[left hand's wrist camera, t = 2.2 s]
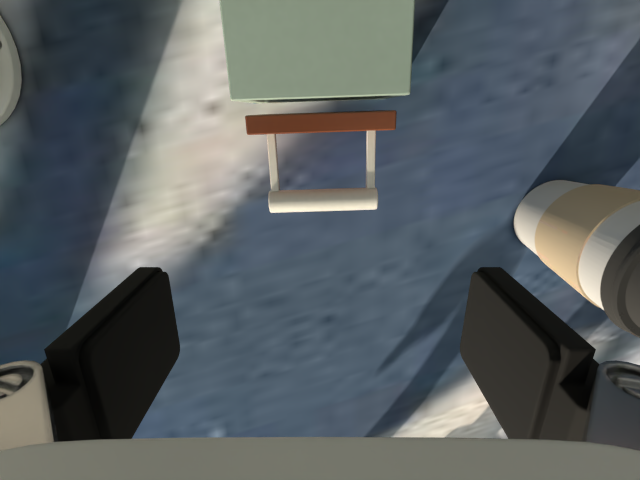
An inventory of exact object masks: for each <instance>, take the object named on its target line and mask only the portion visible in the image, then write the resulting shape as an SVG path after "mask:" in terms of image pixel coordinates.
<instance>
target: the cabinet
mask: <svg viewBox="0 0 640 480" xmlns="http://www.w3.org/2000/svg"><path fill="white" fill-rule="evenodd" d="M220 9H221V18H222V27H223V36H224V45H225V54H226V63H227V72H228V81H229V89H230V98H231V100H232V101H240V102H248V103H255V104H256V103H280V102H309V101H338V100H366V99H387V98H392V97H398V96H403V95H408V94H410V88H411V68H412V49H413V29H414V10H415V0H220Z"/></svg>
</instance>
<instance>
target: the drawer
mask: <svg viewBox="0 0 640 480" xmlns="http://www.w3.org/2000/svg"><path fill="white" fill-rule="evenodd" d="M245 119H246V129H247V134H248V135H256V134H267V143H268V156H269V168H270V180H271V191H270V192H269V209H270V212H271V213H277V212H308V211H340V210H371V209H377V206H378V192H377V188H376V187H375V141H376V130H395V129H396V111H395V110H378V111H349V112H320V113H291V114H262V115H248V116H245ZM345 131H367V144H366V188H343V189H312V190H281V191H279V190H280V186H279V172H278V158H277V145H276V134H286V133H315V132H345Z"/></svg>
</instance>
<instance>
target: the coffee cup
mask: <svg viewBox="0 0 640 480" xmlns="http://www.w3.org/2000/svg"><path fill="white" fill-rule="evenodd" d="M514 229H515V233H516V235H517V237H518V238H519V240H520V241H521V242H522V243H523V244H525V245H526V246H527V247H528V248H529V249H531V250H532V251H533V252H534V253H535V254H537V255H538V256H539V257H540V259H541V260H542V261H543V262H544V263H545V264H546V265H547V266H548V267H549V268H551V269H552V270H553V271H554V272H555V273H557V274H558V275H559V276H560V277H561V278H563V279H564V280H565V281H566V282H567V283H568V284H570V285H571V286H572V287H573V288H574V289H576V290H577V291H578V292H579V293H580V294H582V295H583V296H584V297H585V298H586V299H587V300H589V301H590V302H591V303H592V304H594V305H596V306H597V307H599V308H602V309H603V310H604V311H605V313H606V314H607V316H608V317H609V319H610V320H611V321H612V322H613V323H614V324H615V325H617V326H618V327H619V328H621V329H623V330H625V331H627V332H630V333H631V334H633V335H635V336H637V337H639V338H640V190H634V189H627V188H621V187H614V186H608V185H601V184H591V185H590V184H584V183H578V182H572V181H566V180H554V181H549V182H546V183H544V184H541V185H539V186H538V187H536V188H534V189H533V190H532V191H530V192H529V193H528V194H527V195H526V196H525V197H524V198H523V200H522V201H521V203H520V204H519V206H518V208H517V210H516V213H515V217H514Z"/></svg>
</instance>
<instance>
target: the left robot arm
mask: <svg viewBox="0 0 640 480" xmlns="http://www.w3.org/2000/svg"><path fill="white" fill-rule="evenodd" d="M21 82H22V79H21V64H20V60H19V56H18V52H17V48H16V46H15V43H14V41H13V38H12V36H11V33H10V31H9V29H8V28H7V26H6V24H5V23H4V21H3V19H2V17H1V16H0V125H1V124H2V123H4V122H5V121H6V120H7V119H8V118H9V116H10V115H11V113H12V112H13V110H14V109H15V107H16V104H17V101H18V99H19V96H20V90H21ZM44 350H45V353H46V356H47V359H46V360H45V361H44V362H43V363H42V364H41V365H40V364H39V363H37V362H34V361H17V362H11V363H8V364H4V365H0V480H640V365H636V364H632V363H629V362H623V361H606V362H603V363H601V364H600V365H599V364H598V363H597V362H596V361H595V360H594V359H593V356H594V353H595V350H596V349H595V348H593V347H592V346H591V345H590V344H589V343H588V342H586V341H585V340H584V339H583V338H582V337H581V336H580V335H578V334H577V333H576V332H575V331H574V330H573V329H571V328H570V327H569V326H568V325H567V324H566V323H565V322H563V321H562V320H561V319H560V318H559V317H558V316H556V315H555V314H554V313H553V312H552V311H551V310H549V309H548V308H547V307H546V306H545V305H544V304H543V303H541V302H540V301H539V300H538V299H537V298H536V297H534V296H533V295H532V294H531V293H530V292H529V291H528V290H526V289H525V288H524V287H523V286H522V285H521V284H519V283H518V282H517V281H516V280H515V279H514V278H512V277H511V276H510V275H509V274H508V273H507V272H506V271H504V270H503V269H502V268H500V267H481V268H479V269H478V271H477V272H474V273H473V274H472V277H471V282H470V288H469V294H468V300H467V307H466V313H465V319H464V325H463V331H462V337H461V343H460V352H461V356H462V359H463V360H464V362H465V364H466V366H467V367H468V369H469V371H470V373H471V374H472V376H473V378H474V379H475V381H476V383H477V385H478V386H479V388H480V390H481V392H482V393H483V395H484V397H485V399H486V400H487V402H488V404H489V406H490V407H491V409H492V411H493V412H494V414H495V416H496V418H497V419H498V421H499V423H500V425H501V426H502V428H503V430H504V432H505V433H506V435H507V437H508V439H486V438H396V437H244V438H154V439H132V437H133V435H134V433H135V432H136V430H137V428H138V426H139V425H140V423H141V421H142V419H143V418H144V416H145V414H146V412H147V411H148V409H149V407H150V406H151V404H152V402H153V400H154V399H155V397H156V395H157V393H158V392H159V390H160V388H161V386H162V385H163V383H164V381H165V379H166V378H167V376H168V374H169V373H170V371H171V369H172V367H173V366H174V364H175V362H176V360H177V359H178V356H179V352H180V343H179V337H178V331H177V325H176V319H175V313H174V307H173V300H172V294H171V288H170V282H169V277H168V274H167V273H166V272H163V271H162V269H161V268H159V267H140V268H138V269H137V270H136V271H134V272H133V273H132V274H131V275H130V276H129V277H128V278H126V279H125V280H124V281H123V282H122V283H121V284H119V285H118V286H117V287H116V288H115V289H114V290H112V291H111V292H110V293H109V294H108V295H107V296H106V297H104V298H103V299H102V300H101V301H100V302H99V303H97V304H96V305H95V306H94V307H93V308H92V309H91V310H89V311H88V312H87V313H86V314H85V315H84V316H82V317H81V318H80V319H79V320H78V321H77V322H75V323H74V324H73V325H72V326H71V327H70V328H69V329H67V330H66V331H65V332H64V333H63V334H62V335H60V336H59V337H58V338H57V339H56V340H55V341H54V342H52V343H51V344H50V345H49V346H48V347H47V348H45V349H44Z"/></svg>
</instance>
